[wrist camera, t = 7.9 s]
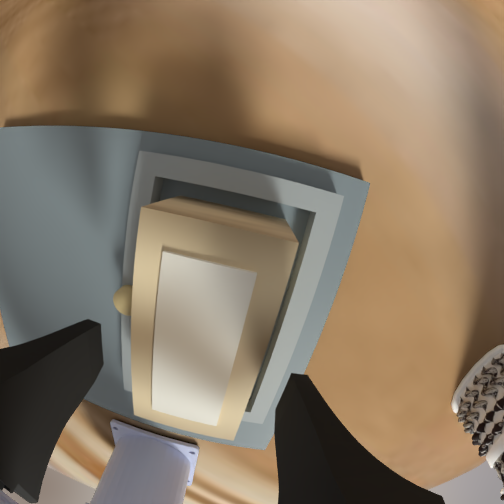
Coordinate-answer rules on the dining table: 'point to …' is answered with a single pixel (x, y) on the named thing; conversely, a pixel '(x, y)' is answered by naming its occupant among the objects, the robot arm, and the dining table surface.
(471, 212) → the dining table surface
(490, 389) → the decorative candle
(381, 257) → the dining table surface
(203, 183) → the wall panel
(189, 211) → the tan box
